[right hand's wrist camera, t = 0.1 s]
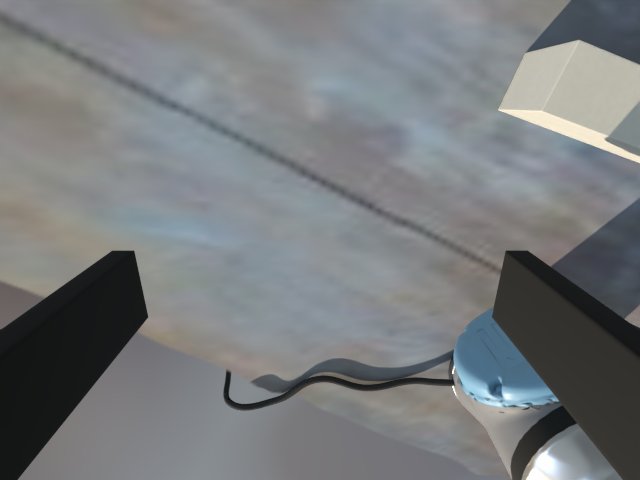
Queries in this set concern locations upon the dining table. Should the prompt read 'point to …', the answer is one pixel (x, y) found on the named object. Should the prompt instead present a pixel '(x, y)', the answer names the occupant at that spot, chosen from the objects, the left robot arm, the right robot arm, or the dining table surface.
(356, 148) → the dining table surface
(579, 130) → the beam
